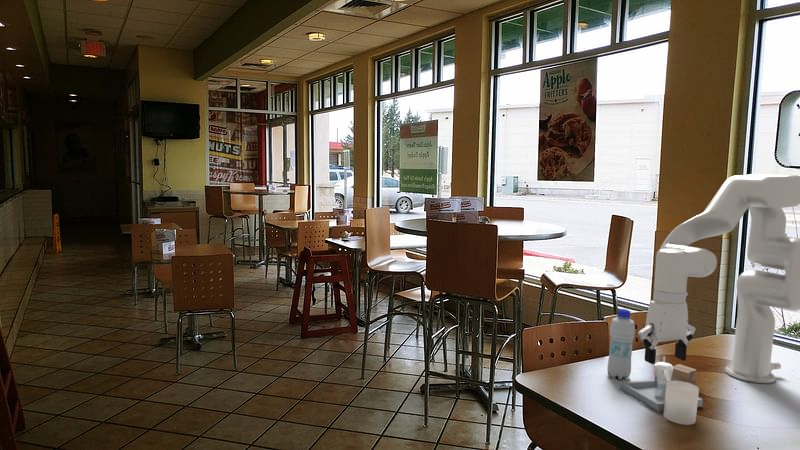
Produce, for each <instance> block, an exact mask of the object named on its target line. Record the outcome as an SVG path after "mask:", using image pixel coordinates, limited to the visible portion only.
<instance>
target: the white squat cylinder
mask: <svg viewBox="0 0 800 450" xmlns="http://www.w3.org/2000/svg"><path fill="white" fill-rule="evenodd" d="M699 391H700V388H699V387H698V386H697V385H696V384H695V385H693V384H690V383H687V382H682V381H668V382H667V383H666V393H665V403H664V411H663V418H665V419H666V420H668V421H669V422H670V421H671V422H673V423H674V424H675V423H676V424H679V425H687V426H690V425H694V424H696V422H697V412H698V407H697V403H698V397H699V395H700V394H699Z"/></svg>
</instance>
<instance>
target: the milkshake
mask: <svg viewBox="0 0 800 450" xmlns="http://www.w3.org/2000/svg"><path fill="white" fill-rule="evenodd" d="M653 365H654V367H653V369H654V379H655V394H654V395H655V396H656V397H658V398H661V399H665V393H666V383H667V382H668V381H671V378H672V373H673V366H674V365H673V364H671V363H669V362H666V356H665V355H663V357H662V361H657V362H655V364H653Z"/></svg>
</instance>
